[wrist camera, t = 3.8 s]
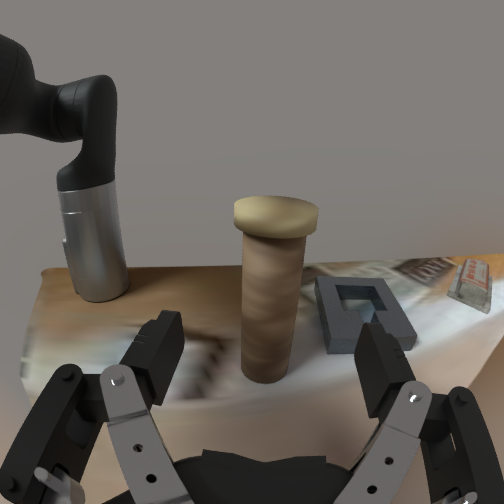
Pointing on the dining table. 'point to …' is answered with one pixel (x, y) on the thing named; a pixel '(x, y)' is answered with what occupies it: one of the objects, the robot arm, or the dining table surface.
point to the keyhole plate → (349, 322)
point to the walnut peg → (271, 279)
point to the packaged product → (472, 285)
